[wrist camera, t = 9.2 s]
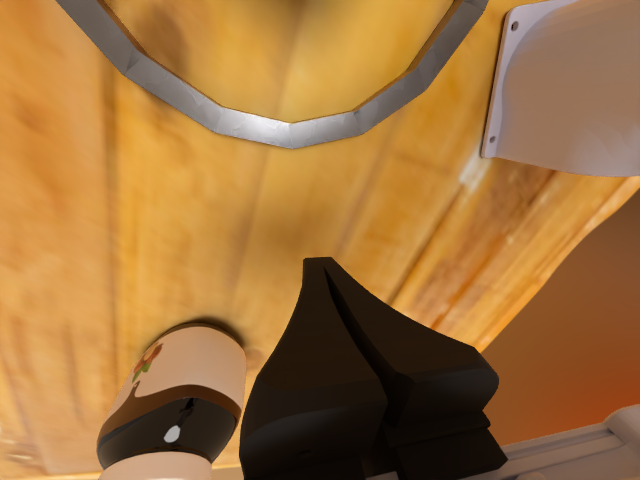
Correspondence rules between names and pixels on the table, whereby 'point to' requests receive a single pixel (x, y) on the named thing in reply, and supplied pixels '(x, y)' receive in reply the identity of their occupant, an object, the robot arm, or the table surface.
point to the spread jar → (175, 407)
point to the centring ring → (139, 67)
